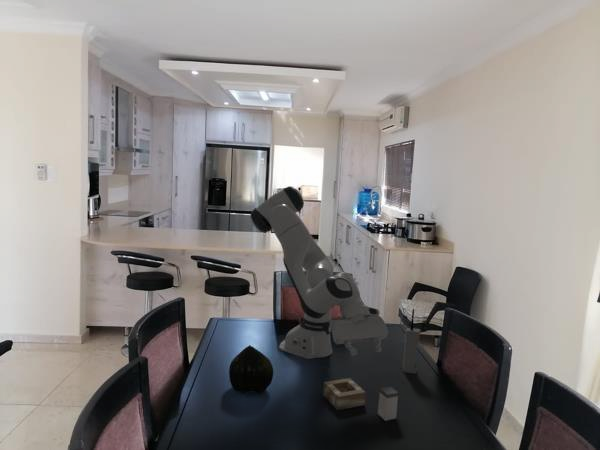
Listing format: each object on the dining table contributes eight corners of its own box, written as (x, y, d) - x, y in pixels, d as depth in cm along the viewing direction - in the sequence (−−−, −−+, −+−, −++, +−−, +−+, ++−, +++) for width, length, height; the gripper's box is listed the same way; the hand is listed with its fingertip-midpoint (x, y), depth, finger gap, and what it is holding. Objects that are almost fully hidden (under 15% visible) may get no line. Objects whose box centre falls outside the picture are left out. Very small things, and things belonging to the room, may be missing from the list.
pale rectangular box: (377, 413, 135) (379, 388, 134) (388, 411, 136) (390, 386, 135) (385, 420, 131) (387, 394, 130) (396, 418, 133) (398, 392, 132)
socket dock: (323, 394, 144) (324, 382, 144) (348, 390, 148) (349, 378, 148) (337, 410, 135) (338, 396, 135) (364, 405, 139) (365, 391, 139)
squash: (259, 391, 134) (271, 345, 142) (216, 383, 138) (230, 339, 146) (271, 403, 145) (281, 359, 153) (231, 396, 149) (243, 354, 158)
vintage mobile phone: (416, 374, 164) (422, 311, 161) (403, 372, 165) (408, 309, 162) (415, 370, 167) (421, 308, 165) (402, 368, 168) (408, 306, 165)
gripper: (331, 313, 144) (343, 352, 136) (382, 309, 152) (396, 346, 144) (324, 321, 149) (335, 360, 141) (374, 317, 157) (387, 353, 149)
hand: (367, 353), depth 143 cm, fingers open, 8 cm apart
